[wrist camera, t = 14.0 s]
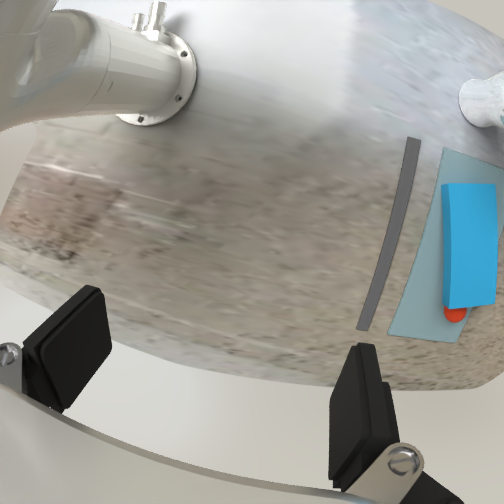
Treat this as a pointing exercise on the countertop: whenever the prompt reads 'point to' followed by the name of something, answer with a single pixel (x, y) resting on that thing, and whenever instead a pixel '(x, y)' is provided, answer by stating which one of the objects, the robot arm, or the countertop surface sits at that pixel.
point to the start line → (391, 232)
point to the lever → (469, 247)
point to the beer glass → (483, 101)
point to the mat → (440, 255)
